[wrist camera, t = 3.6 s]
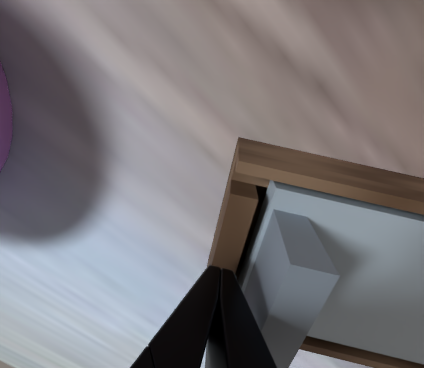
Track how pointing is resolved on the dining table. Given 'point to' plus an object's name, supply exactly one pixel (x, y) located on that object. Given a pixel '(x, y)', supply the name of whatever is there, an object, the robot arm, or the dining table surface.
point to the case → (316, 180)
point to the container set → (4, 119)
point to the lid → (335, 274)
